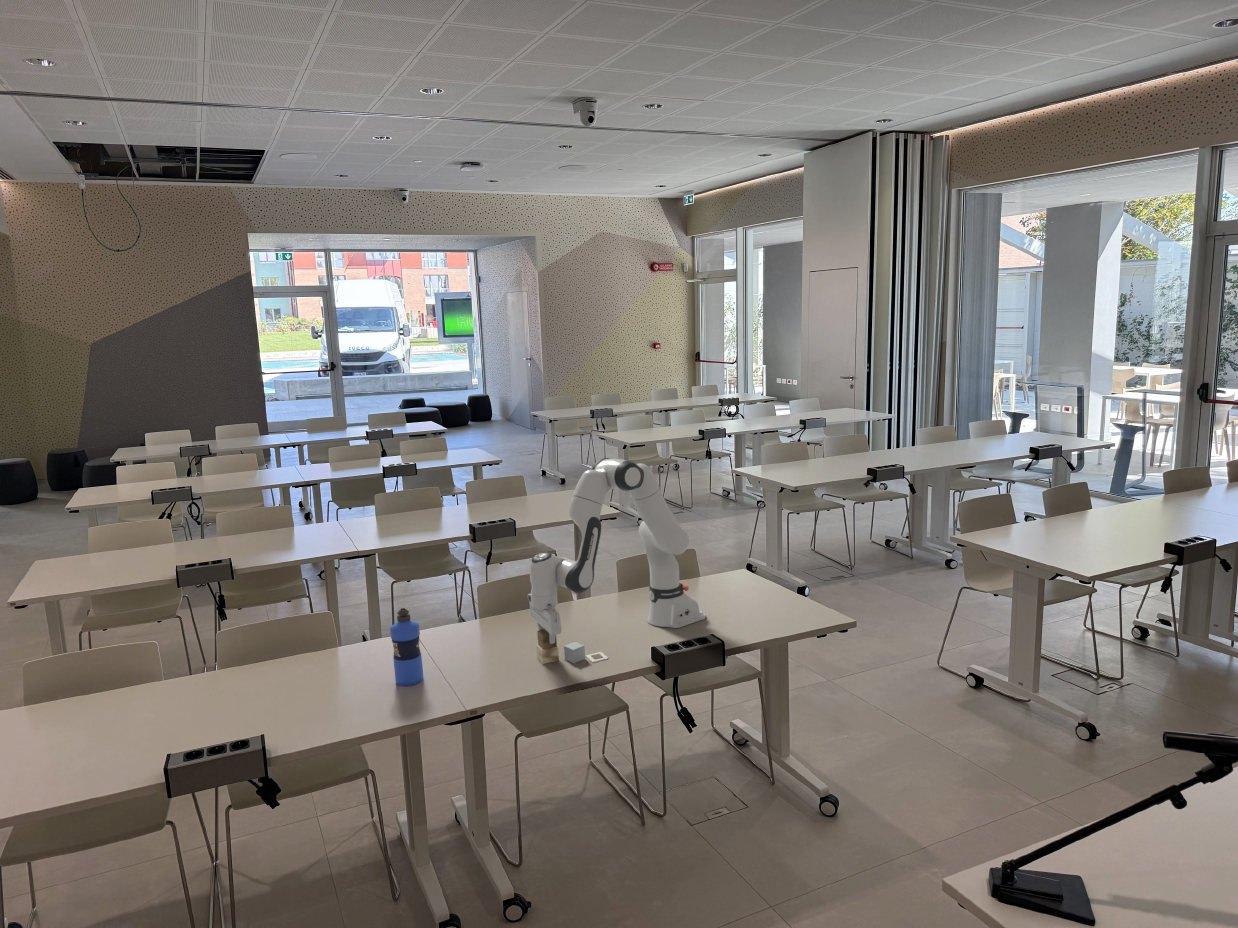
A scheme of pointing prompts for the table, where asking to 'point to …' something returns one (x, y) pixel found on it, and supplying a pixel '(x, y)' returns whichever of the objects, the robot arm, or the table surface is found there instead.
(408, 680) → the water bottle
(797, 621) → the table surface
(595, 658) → the swatch
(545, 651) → the maple base
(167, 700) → the table surface
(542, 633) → the walnut block
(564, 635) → the table surface
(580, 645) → the grey block
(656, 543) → the robot arm
